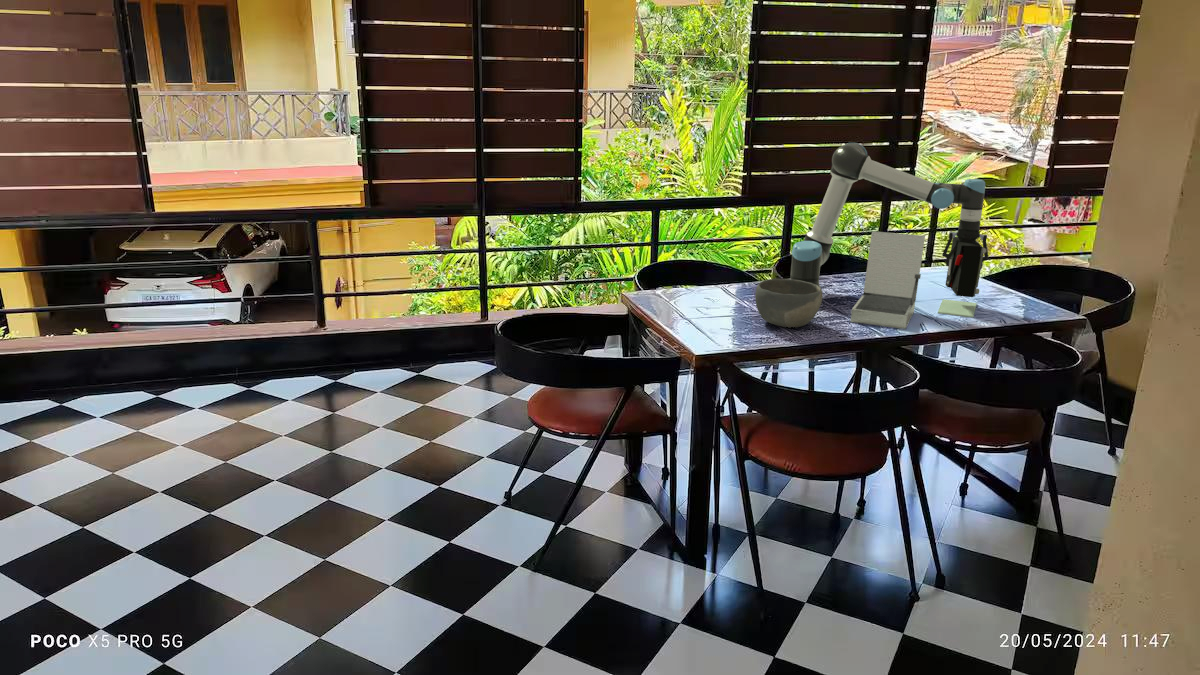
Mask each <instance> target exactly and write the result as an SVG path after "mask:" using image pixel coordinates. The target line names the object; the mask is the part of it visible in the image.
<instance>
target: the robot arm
mask: <svg viewBox="0 0 1200 675" xmlns="http://www.w3.org/2000/svg"><path fill="white" fill-rule="evenodd" d="M830 175H831V179H830V182H829V184H828V187H827V188H826V189H827V190H826V192H825V195H824V197H823V200H822V202H821V205H820V208H819V210H818V213H817V216H816V218H815V221H814V222H813V226H812V228H811V230H809V231H807V232H806V234H805V235H804V236H805V237H804V239H803V240H801V241H798V242H795V243H794V244H793V246H792V250H791V266H790V277H789V279H793V280H800V281H805V282H809V283H813V284H816V285H818V286H819V287H820V288H821V285H820V274H821V273H820V271H821V267H822V265H824V264H825V263H826V262H827V261H828V259H829V257H830V255H831V254H830V253H831V249H832V246H833V245H834V244H833V243H834V240H833V239H832V236H833V234H834V231H835V228H836V226H837V224H838V221H839V219H840V216H841V214H842V210H843V208H844V205H845V203H846V201H847V198H848V196H849V192H850V190H851V189H852V186H853V184H854V183H855V182H858V181H859V180H863V179H864V180H866V181H869V182H872V183H874V184H876V185H880V186H881V187H882V186H883V187H885V188H887V189H891V190H892V191H896V192H898V193H901V194H903V195H906V196H909V197H912V198H914V199H918V200H920V201H923V202H925V203H927V204H930V205H932V206H933V207H934V208H936V209H941V210H943V209H947V208H948V207H950V206H951V205H952V204H959V205H960V204H961V208H960V215H959V218H960V220H959V222H958V230H957V231H956V232H954V231H950V232H949V234H948V240H947V243H946V245H945V247H944V250H943V252H942V253H941V254H942V255H941V256H942V257H945V259H946V262H945V266H946V267H947V272H948V275H950V272H951V264H952V258H950V257H951V256H952V255H953V253H954V252H955V251H956V246H957V244H956V245H955V246H954V248H953V249H952V250H951V249H950V251H949V248H950V245H952V240H953V238H954V237H958V238H959V241H958V242H972V243H976V241H978V239H979V238H980V240H981V241H982V247H983V248H985V249H986V253H985V254H983V259H982V265H981V270H982V269H983V265H984V264H983V263H984V262H985V261H988V260H989V251H988V244H987V243H988V242H987V240H988V234H981V233H980V227H981V219H982V213H983V207H984V199H985V193H986V192H985V191H986V182H985V180H984V179H980V178H967V179H965V181H964V182H963V183H961V184H960V183H947V182H946V183H945V182H932V181H929V180H926V179H924V178H922V177H919V176H916V175H913V174H911V173H908V172H906V171H902V170H899V169H897V168H894V167H891V166H889V165H887V164H883V163H880V162H878V161H875V160H872V159H871V157H870V155H868V151H867V149H866V148H865V146H863V145H862V144H860V143H858V142H848V143H846V144H845V143H844V144H843V145H841V146H839V147H837V149H836V150H834V152H833V154H832V157H831V168H830ZM948 252H949V253H948ZM948 266H949V268H948Z"/></svg>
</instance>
